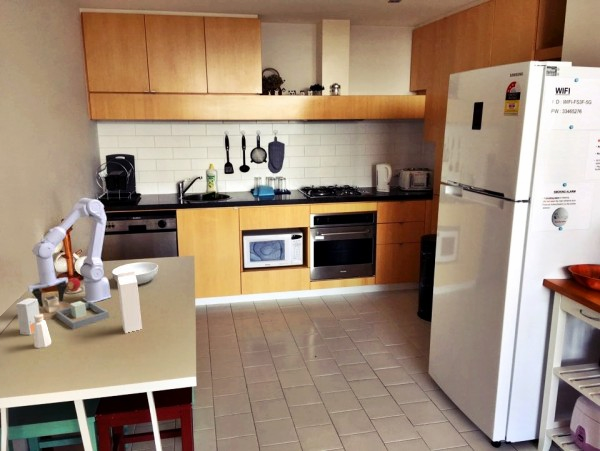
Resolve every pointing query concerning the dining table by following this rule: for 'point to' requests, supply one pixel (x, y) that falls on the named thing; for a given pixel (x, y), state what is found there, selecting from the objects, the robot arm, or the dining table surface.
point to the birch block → (51, 304)
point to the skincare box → (27, 315)
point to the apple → (74, 286)
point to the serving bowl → (138, 271)
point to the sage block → (78, 309)
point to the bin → (102, 315)
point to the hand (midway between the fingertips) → (51, 303)
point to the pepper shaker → (41, 332)
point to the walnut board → (53, 314)
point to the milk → (129, 301)
